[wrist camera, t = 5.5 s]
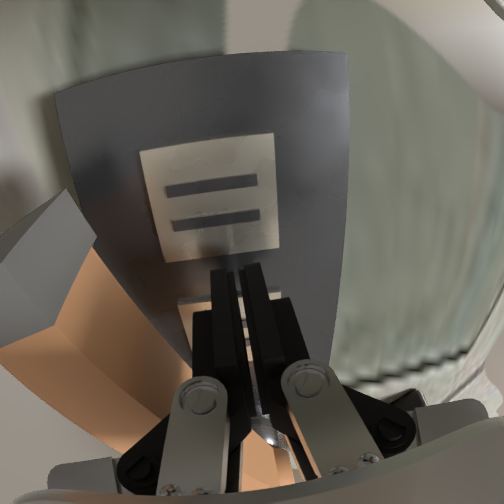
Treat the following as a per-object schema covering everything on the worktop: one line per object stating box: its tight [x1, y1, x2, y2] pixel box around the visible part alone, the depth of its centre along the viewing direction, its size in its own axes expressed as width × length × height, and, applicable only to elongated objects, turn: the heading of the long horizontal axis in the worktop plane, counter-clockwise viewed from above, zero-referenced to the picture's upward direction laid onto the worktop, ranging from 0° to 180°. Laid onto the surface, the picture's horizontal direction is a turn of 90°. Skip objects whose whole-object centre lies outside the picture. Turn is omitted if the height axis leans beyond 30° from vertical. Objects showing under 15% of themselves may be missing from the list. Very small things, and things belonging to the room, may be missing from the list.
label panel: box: [54, 51, 349, 386], centre depth 12 cm, size 9×15×2 cm, turn 4°
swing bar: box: [0, 189, 295, 492], centre depth 11 cm, size 4×20×3 cm, turn 21°
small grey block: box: [251, 386, 281, 449], centre depth 19 cm, size 6×6×4 cm
